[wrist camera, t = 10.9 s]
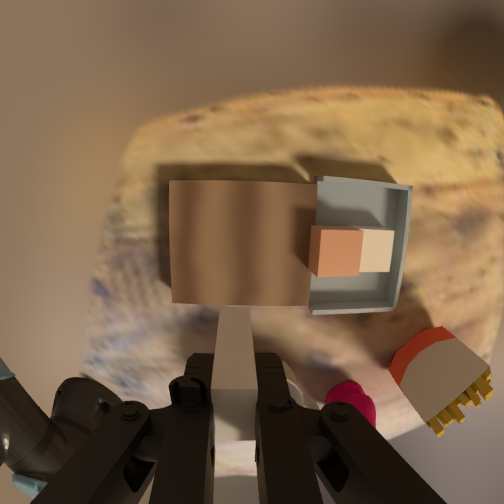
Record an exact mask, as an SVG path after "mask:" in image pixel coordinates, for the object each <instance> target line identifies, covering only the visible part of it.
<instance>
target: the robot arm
mask: <svg viewBox="0 0 504 504" xmlns="http://www.w3.org/2000/svg"><path fill="white" fill-rule="evenodd" d="M169 391H170V397H171V402H172V404H171V405H170V406H167V407H164V408H160V409H152V410H149V409H148V408H147V407H146V405H145V404H143V403H141V402H138V401H124V402H122V401H121V400H120V399H119V398H118V397H117V396H116V395H115V394H114V393H112V392H111V391H110V390H108V389H107V388H105V387H104V386H102V385H100V384H98V383H96V382H94V381H91V380H88V379H85V378H79V377H72V378H68V379H66V380H65V381H64V382H63V383H62V384H61V385H60V387H59V388H58V390H57V392H56V395H55V399H54V405H53V408H52V414H51V417H50V419H49V417H48V416H47V415H46V414H45V413H44V412H43V411H42V410H41V409H40V407H39V406H38V405H37V404H36V403H35V402H34V400H33V399H32V398H31V397H30V396H29V394H28V393H27V392H26V391H25V389H24V388H23V387H22V385H21V384H20V383H19V382H18V380H17V379H16V378H15V374H14V373H12V372H11V371H10V370H9V368H8V367H7V366H6V364H5V363H4V362H3V361H2V359H1V358H0V466H1V465H2V464H3V463H5V464H6V465H7V466H8V467H9V468H10V469H11V470H12V471H13V472H14V474H13V475H12V482H13V483H14V485H15V486H17V487H18V489H19V490H20V491H22V492H23V493H24V494H26V495H27V496H29V497H30V498H32V499H33V500H32V502H31V503H30V504H138V503H139V501H140V499H141V498H142V496H143V494H144V493H145V491H146V489H147V487H148V486H149V484H150V482H151V481H152V479H153V477H154V481H153V486H152V490H151V495H150V500H149V504H213V491H214V468H215V444H214V443H215V440H234V441H242V440H255V439H256V449H255V462H256V465H257V478H258V490H259V501H260V504H323V500H322V496H321V492H320V489H319V485H318V481H317V477H316V473H317V475H318V477H319V478H320V480H321V481H322V483H323V484H324V486H325V488H326V489H327V491H328V492H329V494H330V495H331V497H332V498H333V500H334V501H335V503H336V504H447V503H446V502H445V501H444V500H443V499H442V498H441V497H440V496H439V495H438V494H437V493H436V492H435V491H434V490H433V489H432V488H431V487H430V486H429V485H428V484H427V483H426V482H425V481H424V480H423V479H422V478H421V477H420V475H418V473H417V472H416V471H415V470H414V469H413V468H412V467H411V466H410V465H409V464H408V463H407V462H406V461H405V460H404V459H403V458H402V457H401V456H400V454H399V453H398V452H397V451H396V450H395V449H394V448H393V447H392V446H391V445H390V444H389V443H388V442H387V441H386V440H385V438H384V437H383V436H382V435H381V434H380V433H379V432H378V431H377V430H376V429H375V428H374V427H373V425H372V424H371V423H370V422H369V421H368V420H367V419H366V418H365V417H364V416H363V415H362V413H361V412H360V411H359V410H358V409H357V408H356V407H355V406H353V405H352V404H350V403H347V402H343V401H334V402H330V403H328V404H326V405H324V407H323V408H322V409H321V410H317V409H310V408H305V407H302V406H300V405H298V404H297V403H296V401H295V400H294V399H293V398H292V397H291V395H290V391H289V387H288V383H287V379H286V375H285V371H284V368H283V363H282V359H281V358H280V357H279V356H278V355H277V354H276V353H254V348H253V338H252V329H251V319H250V309H249V307H220V313H219V321H218V329H217V338H216V346H215V354H205V353H194V354H193V355H192V356H190V357H189V358H188V360H187V364H186V368H185V372H184V375H183V376H180V377H177V378H175V379H174V380H172V381H171V383H170V384H169ZM315 472H316V473H315ZM154 475H155V476H154Z"/></svg>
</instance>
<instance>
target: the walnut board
mask: <svg viewBox="0 0 504 504" xmlns="http://www.w3.org/2000/svg"><path fill="white" fill-rule="evenodd" d="M317 189H318V184H303V183H286V182H265V181H232V180H169V243H170V270H171V289H172V303H185V304H211V305H259V306H301V305H308V304H309V295H310V285H311V275H312V272H311V271H309V270H308V262H309V249H310V236H311V225H316V208H317Z"/></svg>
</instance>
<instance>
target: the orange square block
mask: <svg viewBox="0 0 504 504" xmlns="http://www.w3.org/2000/svg"><path fill="white" fill-rule="evenodd" d="M363 233H364V231H363V230H360V229H357V228H354V227H351V226H322V225H311V236H310V249H309V262H308V270H309V271H311V272H312V273H313V274H314V275H315V276H316V277H341V276H359V269H360V261H361V252H362V243H363Z"/></svg>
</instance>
